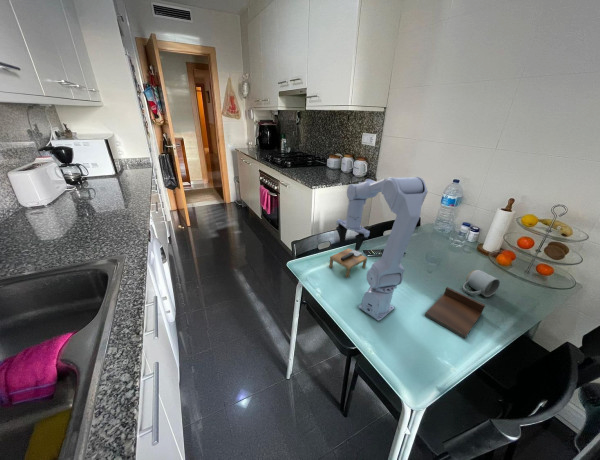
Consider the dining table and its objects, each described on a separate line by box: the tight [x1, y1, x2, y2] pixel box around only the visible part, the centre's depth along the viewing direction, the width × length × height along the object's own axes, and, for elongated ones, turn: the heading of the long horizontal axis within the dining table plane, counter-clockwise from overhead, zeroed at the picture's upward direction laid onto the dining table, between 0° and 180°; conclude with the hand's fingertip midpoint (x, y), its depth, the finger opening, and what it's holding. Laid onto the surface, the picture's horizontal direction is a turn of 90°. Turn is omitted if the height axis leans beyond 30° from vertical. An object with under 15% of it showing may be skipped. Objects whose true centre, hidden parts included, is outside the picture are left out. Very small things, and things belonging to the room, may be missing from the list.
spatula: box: [341, 249, 363, 261], centre depth 104 cm, size 11×4×1 cm, turn 131°
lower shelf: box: [424, 286, 486, 340], centre depth 82 cm, size 16×12×4 cm
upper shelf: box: [328, 247, 368, 279], centre depth 105 cm, size 12×10×5 cm
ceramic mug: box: [462, 269, 501, 298], centre depth 93 cm, size 11×8×8 cm
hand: (349, 246), depth 101 cm, fingers open, 7 cm apart
